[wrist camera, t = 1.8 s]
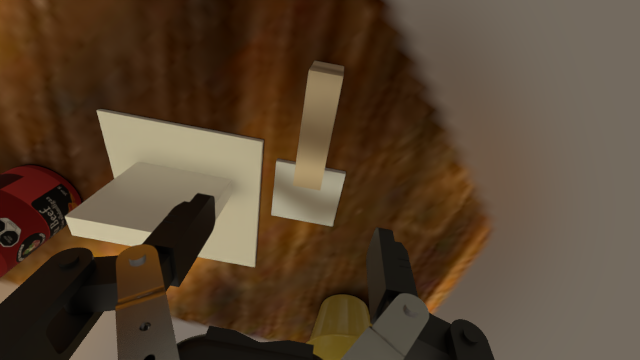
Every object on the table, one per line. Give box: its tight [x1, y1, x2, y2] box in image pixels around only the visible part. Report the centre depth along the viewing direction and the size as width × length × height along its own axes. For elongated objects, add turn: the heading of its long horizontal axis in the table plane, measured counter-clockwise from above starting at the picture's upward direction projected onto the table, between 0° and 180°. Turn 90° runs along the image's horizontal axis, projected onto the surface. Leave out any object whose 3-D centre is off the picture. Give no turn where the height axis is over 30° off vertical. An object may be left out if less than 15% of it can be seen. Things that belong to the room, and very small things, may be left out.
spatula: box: [271, 61, 346, 226], centre depth 26 cm, size 17×7×4 cm, turn 170°
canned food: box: [0, 165, 82, 277], centre depth 29 cm, size 8×8×11 cm
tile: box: [65, 162, 232, 246], centre depth 27 cm, size 2×10×9 cm, turn 80°
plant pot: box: [306, 294, 372, 360], centre depth 37 cm, size 10×10×10 cm
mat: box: [97, 109, 264, 267], centre depth 32 cm, size 18×16×1 cm
